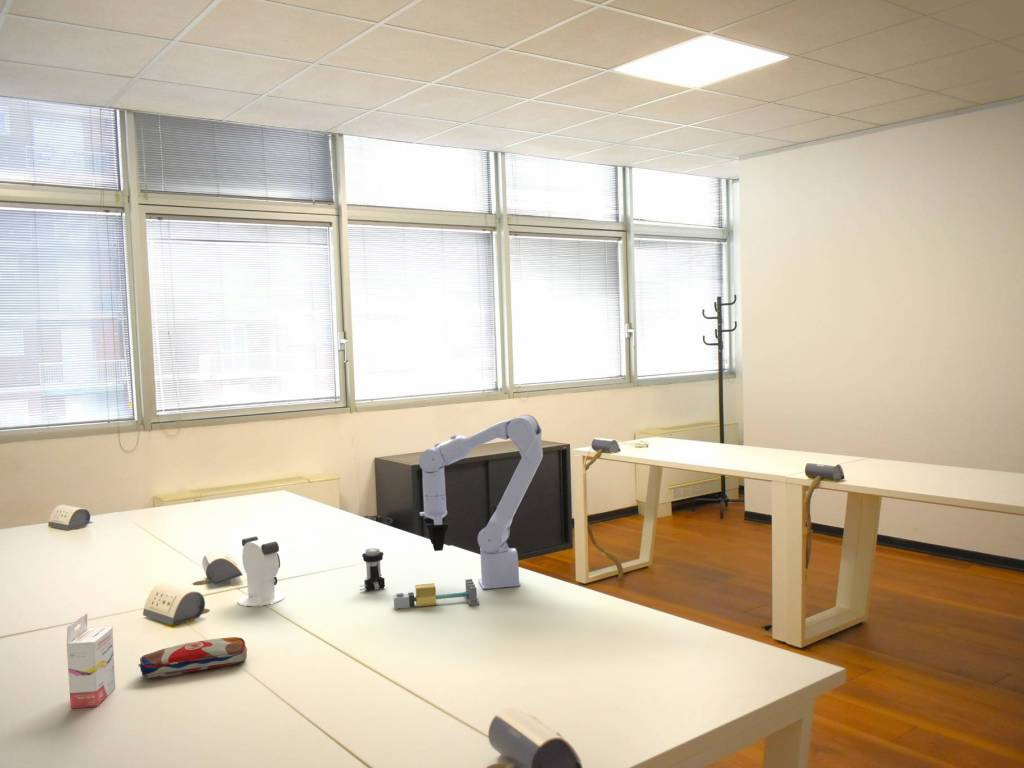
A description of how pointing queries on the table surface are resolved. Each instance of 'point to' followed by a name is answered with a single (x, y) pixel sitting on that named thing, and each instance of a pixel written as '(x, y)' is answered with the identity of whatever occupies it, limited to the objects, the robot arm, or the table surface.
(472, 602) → the cable comb
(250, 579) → the panda figurine
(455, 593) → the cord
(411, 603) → the band
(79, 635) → the ink cartridge box
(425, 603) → the marker sleeve
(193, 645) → the pencil case
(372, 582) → the push button
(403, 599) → the connector
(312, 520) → the table surface
